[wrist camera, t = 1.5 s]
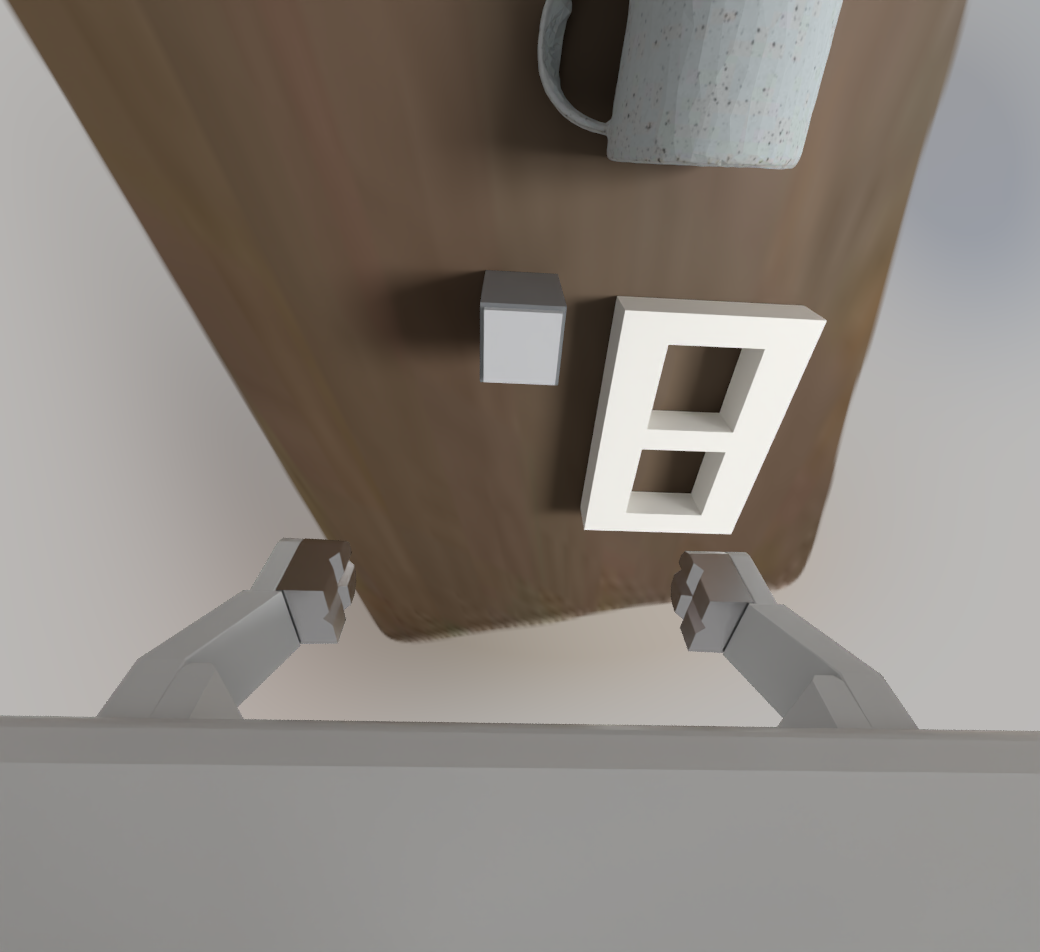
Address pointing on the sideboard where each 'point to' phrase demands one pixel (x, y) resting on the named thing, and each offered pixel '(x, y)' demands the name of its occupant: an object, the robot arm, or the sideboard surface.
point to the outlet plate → (722, 436)
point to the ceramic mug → (706, 79)
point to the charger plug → (521, 327)
